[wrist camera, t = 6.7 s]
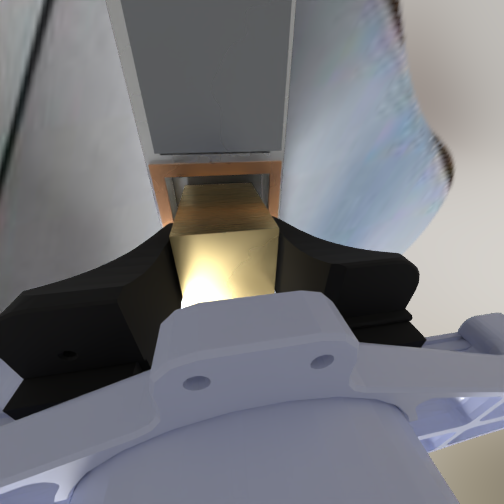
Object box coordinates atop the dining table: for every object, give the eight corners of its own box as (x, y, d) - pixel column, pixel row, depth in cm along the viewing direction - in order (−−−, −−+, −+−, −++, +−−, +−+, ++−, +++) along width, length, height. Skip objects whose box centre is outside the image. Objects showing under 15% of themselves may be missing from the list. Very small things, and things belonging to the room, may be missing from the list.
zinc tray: (189, 316, 20) (187, 337, 18) (114, -22, 9) (89, -56, 7) (265, 306, 21) (271, 325, 19) (283, -8, 10) (300, -34, 8)
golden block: (194, 243, 15) (187, 314, 10) (184, 185, 13) (169, 236, 8) (250, 238, 16) (273, 304, 10) (250, 182, 14) (279, 228, 8)
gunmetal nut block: (177, 133, 12) (154, 153, 7) (161, 33, 10) (107, -58, 4) (249, 132, 13) (281, 150, 7) (249, 37, 10) (294, -38, 5)
